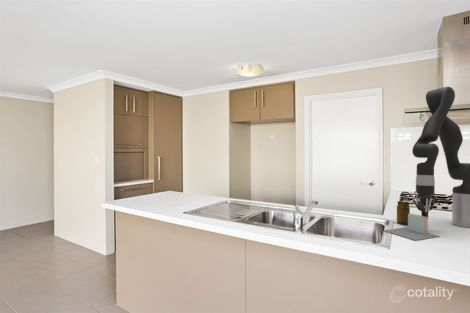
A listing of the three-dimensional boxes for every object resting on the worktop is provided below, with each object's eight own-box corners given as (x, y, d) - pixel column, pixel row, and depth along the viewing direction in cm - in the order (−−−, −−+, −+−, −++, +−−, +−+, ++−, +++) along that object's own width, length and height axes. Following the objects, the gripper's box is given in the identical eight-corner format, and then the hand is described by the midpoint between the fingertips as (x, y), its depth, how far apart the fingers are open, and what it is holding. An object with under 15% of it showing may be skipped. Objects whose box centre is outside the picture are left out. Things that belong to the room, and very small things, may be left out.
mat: (405, 227, 137) (405, 227, 137) (439, 236, 123) (439, 235, 123) (383, 231, 132) (383, 230, 132) (415, 241, 117) (415, 240, 117)
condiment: (403, 221, 151) (403, 200, 150) (416, 225, 142) (416, 203, 142) (392, 222, 149) (392, 201, 149) (405, 226, 141) (405, 203, 140)
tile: (411, 229, 133) (411, 213, 133) (427, 233, 126) (427, 217, 125) (407, 230, 132) (407, 213, 132) (424, 234, 125) (424, 217, 125)
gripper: (426, 182, 136) (425, 216, 137) (408, 183, 132) (408, 218, 132) (442, 184, 129) (441, 219, 130) (423, 185, 125) (423, 222, 125)
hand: (424, 219), depth 131 cm, fingers closed
